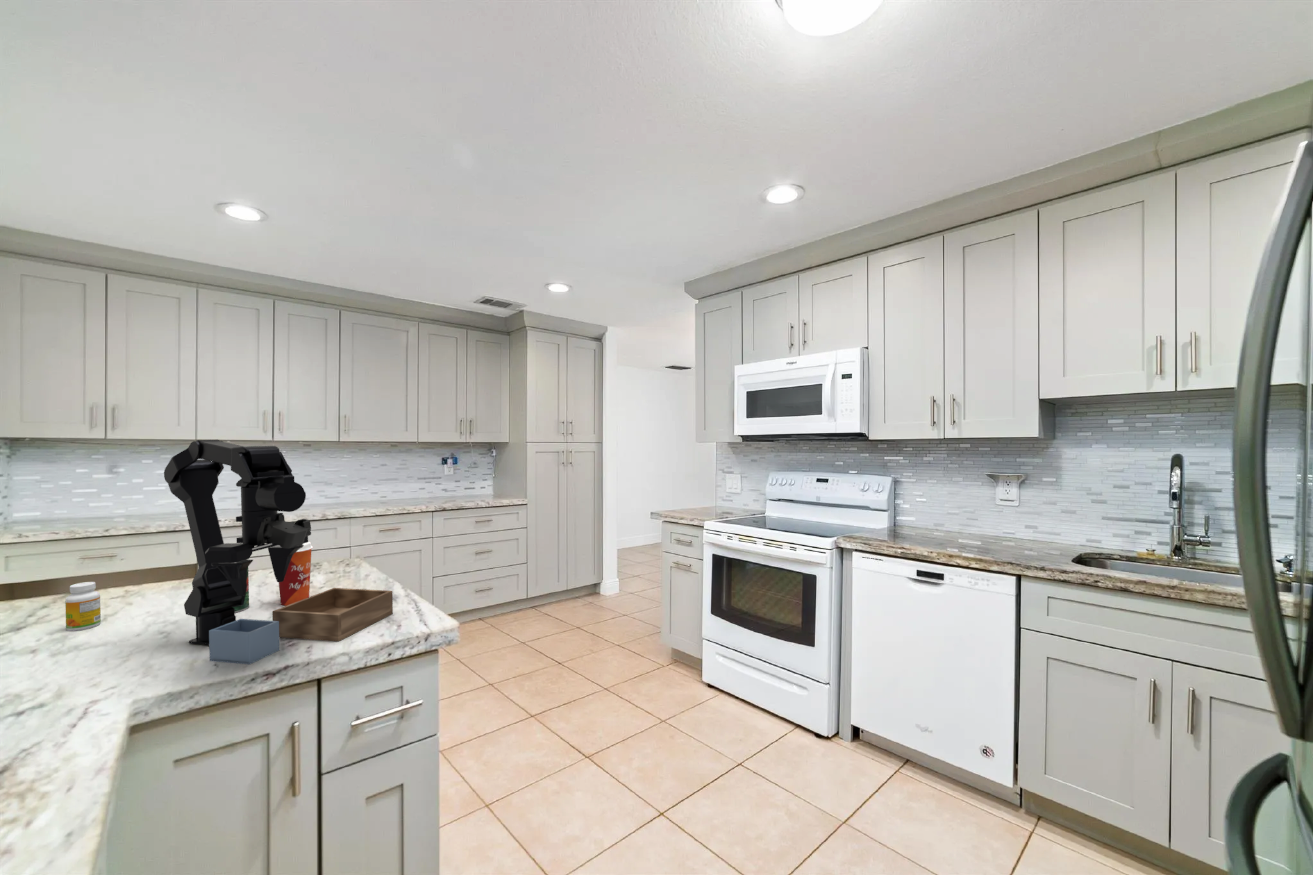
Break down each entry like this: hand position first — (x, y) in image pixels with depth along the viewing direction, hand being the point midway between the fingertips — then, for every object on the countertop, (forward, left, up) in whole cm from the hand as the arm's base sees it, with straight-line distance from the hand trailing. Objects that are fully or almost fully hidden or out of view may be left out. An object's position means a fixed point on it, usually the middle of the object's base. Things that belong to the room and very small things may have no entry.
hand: (261, 588), depth 106 cm
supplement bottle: (-54, +6, -13) cm, 55 cm away
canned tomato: (-32, +21, -13) cm, 40 cm away
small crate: (-3, -1, -13) cm, 13 cm away
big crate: (+2, +16, -13) cm, 21 cm away
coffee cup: (-21, +29, -13) cm, 37 cm away
